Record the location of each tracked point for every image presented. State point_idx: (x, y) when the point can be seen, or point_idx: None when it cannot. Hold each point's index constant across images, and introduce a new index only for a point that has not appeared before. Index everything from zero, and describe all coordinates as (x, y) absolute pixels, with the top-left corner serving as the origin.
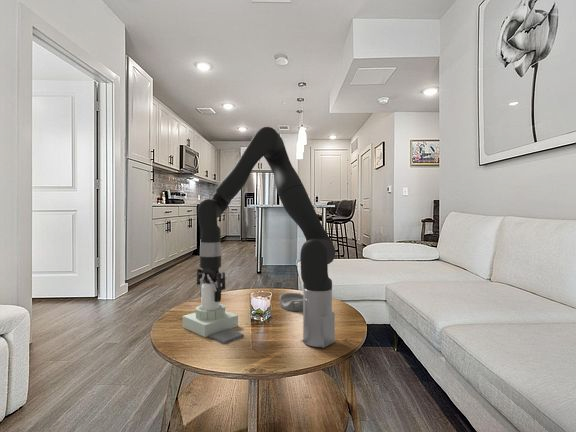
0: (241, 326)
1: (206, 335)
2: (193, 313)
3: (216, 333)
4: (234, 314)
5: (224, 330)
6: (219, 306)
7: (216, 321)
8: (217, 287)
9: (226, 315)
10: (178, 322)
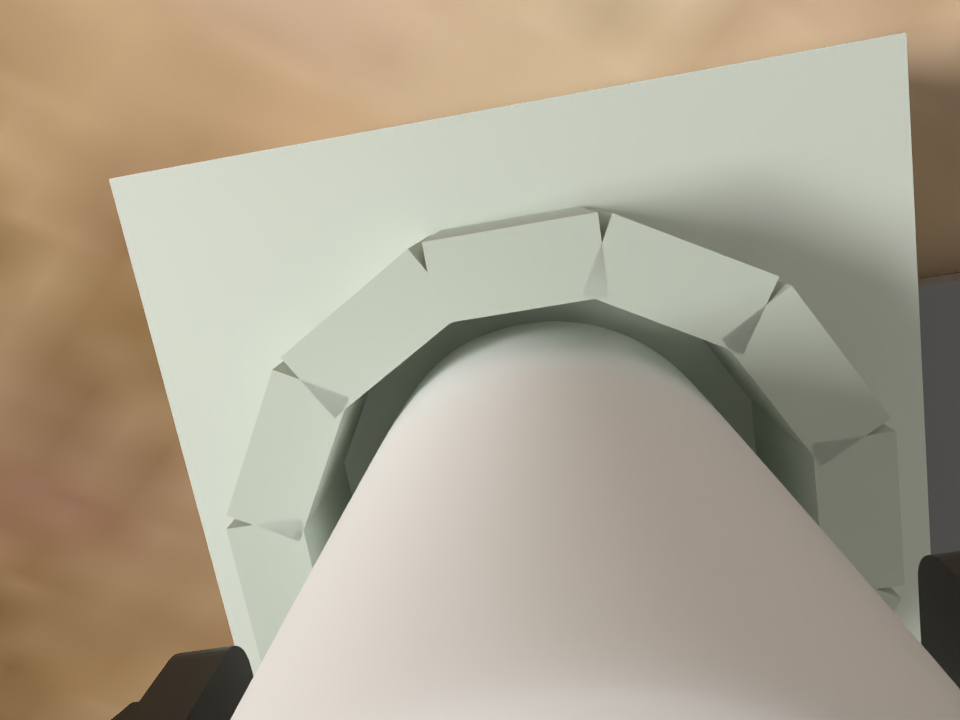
0: (863, 27)
1: None
2: (257, 656)
3: (941, 522)
4: (814, 76)
5: (925, 385)
6: (711, 406)
7: (926, 543)
8: None
9: (757, 246)
10: (116, 679)
